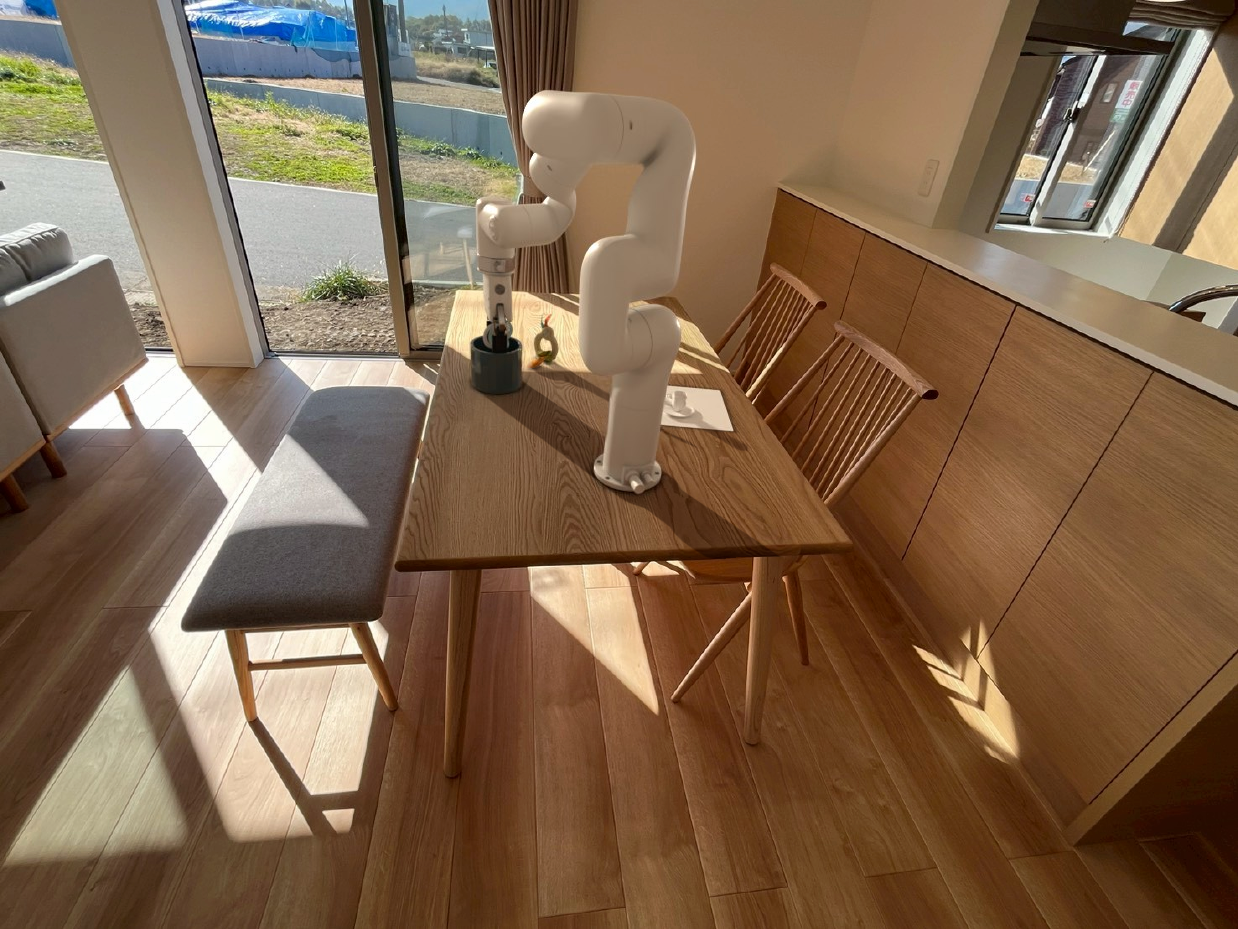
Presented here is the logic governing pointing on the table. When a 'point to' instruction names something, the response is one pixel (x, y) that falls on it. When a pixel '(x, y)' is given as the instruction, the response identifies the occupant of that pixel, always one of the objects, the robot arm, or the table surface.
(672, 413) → the teacup and saucer
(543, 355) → the rattle
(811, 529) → the table surface
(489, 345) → the pacifier
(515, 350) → the cup
